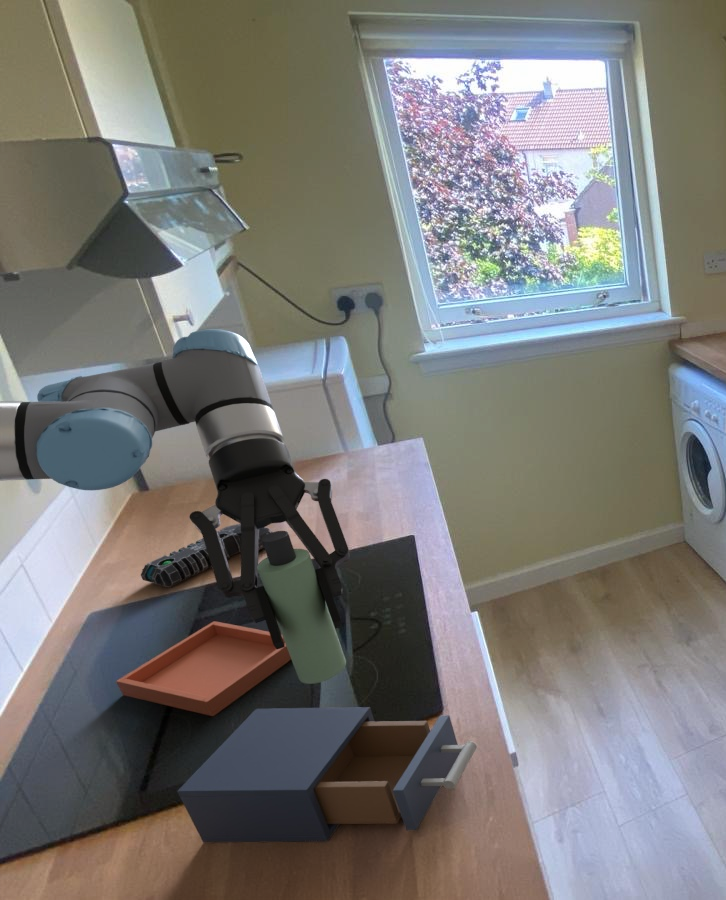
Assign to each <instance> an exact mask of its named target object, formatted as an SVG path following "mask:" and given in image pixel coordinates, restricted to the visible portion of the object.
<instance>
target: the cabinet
mask: <svg viewBox="0 0 726 900" xmlns="http://www.w3.org/2000/svg"><path fill="white" fill-rule="evenodd" d="M363 722H376V721H375V719H374V716H373V713H372V710H371V707H370V706H367V707H366V706H363V707H362V706H361V707H359V706H358V707H357V706H356V707H351V706H350V707H291V708H290V707H287V708H286V707H285V708H282V707H281V708H276V707H275V708H255V709H254V710H253V711H252V712H251V713H250V714H249V715H248V717H247V718H246V719H245V720H244V721H243V722H242V723H241V724H240V725H239V726H238V727H237V728H236V729H235V730H234V731H233V732H232V733H231V734H230V736H228V737H227V739H226V740H225V741H223V742H222V744H221V745H220V746H219V747H218V748H217V749H216V750H215V751H214V752H213V753H212V754H211V755H210V756H209V757H208V758H207V759H206V760H205V761H204V763H202V764H201V766H200V767H199V768H197V770H195V772H194V773H193V774H192V775H190V777H189V778H188V779H187V780H186V781H185V782H184V783H183V785H181V787H180V788H179V789H177V791H176V792H177V794H178V796H179V798H180V800H181V802H182V804H183V805H184V808H185V810H186V811H187V814H188V816H189V818H190V819H191V821H192V823H193V825H194V827H195V829H196V831H197V834H198V835H199V838H200V840H201V842H202V843H291V842H293V843H296V842H297V843H298V842H299V843H303V842H306V843H307V842H308V843H309V842H329V841H330V839H331V837H332V836H333V835H334V833H335V831H336V830H337V828H338V827H339V826H340V824H327V823H326V820H325V818H324V815H323V813H322V810H321V808H320V805H319V803H318V800H317V798H316V796H315V793H314V791H313V789H314V787H315V786H316V785H317V783H318V782H319V781H320V779H321V778H322V777H323V775H324V774H325V773H326V771H327V770H328V769H329V767H330V766H331V765H332V763H333V762H334V761H335V760H336V758H337V757H338V756H339V754H340V753H341V752H342V750H343V749H344V748H345V746H346V745H347V744H348V742H349V741H350V740H351V738H352V737H353V736H354V734H355V733H356V732H357V730H358V729H359V728H360V726H361V725H362V724H363Z"/></svg>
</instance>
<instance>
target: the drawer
mask: <svg viewBox="0 0 726 900" xmlns="http://www.w3.org/2000/svg"><path fill="white" fill-rule="evenodd" d="M476 750H477V744H476V743H475V742H474V741H469V740H468V741H467V742H465V744H458V741H457V737H456V734H455V730H454V727H453V724H452V720H451V716H450V715H449V714H446V715H445V714H444V715H443V714H442V715H439V717H438V719H436V721H435V723H434V724H433V725H432V727H431V729H430V725H429V722H428V721H427V720H397V721H396V720H395V721H394V720H393V721H390V720H389V721H388V720H387V721H385V720H383V721H375V722H363V724H362V725H361V726H360V728H359V729H358V730H357V732H356V733H355V734H354V736H353V737H352V738H351V740H350V741H349V742H348V744H347V745H346V746H345V748H344V749H343V750H342V752H341V753H340V754H339V756H338V757H337V758H336V760H335V761H334V762H333V763H332V765H331V766H330V767H329V769H328V770H327V771H326V773H325V774H324V775H323V777H322V778H321V779H320V781H319V782H318V783H317V785H316V786H315V787H314V789H313V791H314V793H315V796H316V798H317V800H318V803H319V805H320V808H321V810H322V813H323V815H324V818H325V820H326V823H327V824H339V825H346V824H347V825H349V824H350V825H352V824H353V825H354V824H355V825H357V824H359V825H361V824H363V825H364V824H365V825H366V824H399V821H400V820H402V822H403V825H404V827H405V830H406V831H417V830H418V828H419V827H420V825H421V823H422V821H423V819H424V817H425V815H426V814H427V812H428V810H429V809H430V808H431V804H433V801H434V800H435V798H436V796H437V795H438V793H439V791H440V790H441V787H444V789H446V790H450V791H451V790H454V789H455V788H456V787H457V784H458V783H459V781H460V779H461V777H462V776H463V774H464V772H465V770H466V768H467V766H468V764H469V763H470V761H471V758H472V756H473V755H474V753H475V751H476Z"/></svg>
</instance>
